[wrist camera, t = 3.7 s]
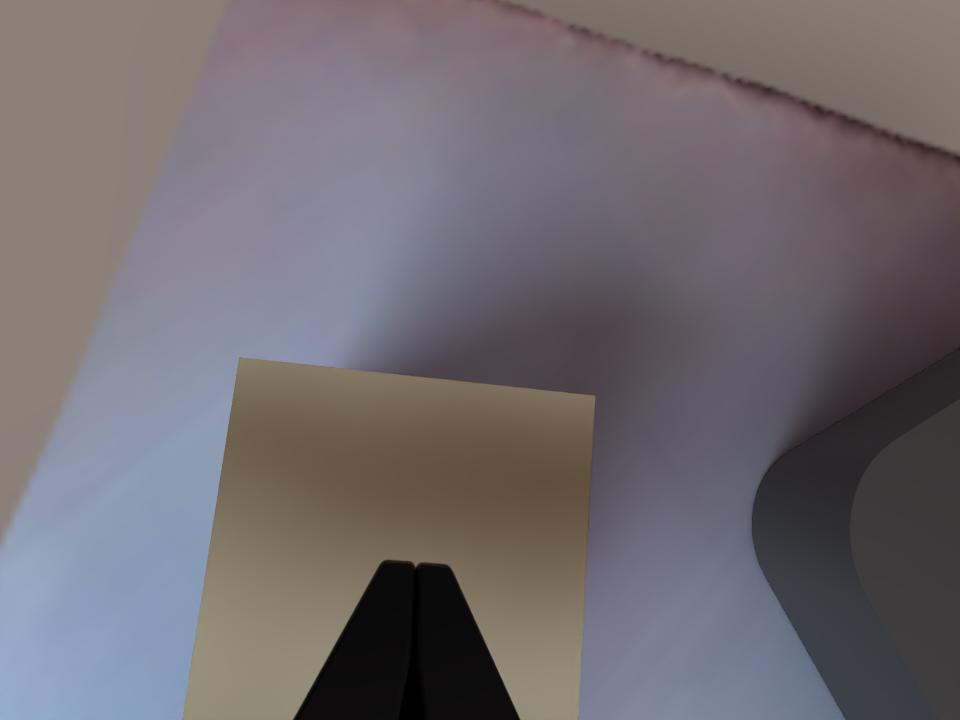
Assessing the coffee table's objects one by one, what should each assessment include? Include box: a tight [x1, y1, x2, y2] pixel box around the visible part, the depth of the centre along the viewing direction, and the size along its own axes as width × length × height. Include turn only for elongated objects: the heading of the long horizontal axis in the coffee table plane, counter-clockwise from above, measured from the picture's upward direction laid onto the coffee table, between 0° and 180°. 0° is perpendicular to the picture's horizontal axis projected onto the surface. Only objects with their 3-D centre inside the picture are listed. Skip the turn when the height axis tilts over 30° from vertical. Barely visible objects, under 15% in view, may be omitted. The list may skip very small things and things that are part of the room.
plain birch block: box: [182, 357, 595, 720], centre depth 16 cm, size 6×6×10 cm
